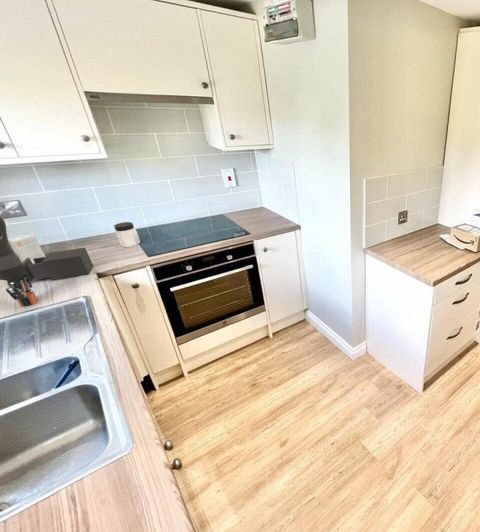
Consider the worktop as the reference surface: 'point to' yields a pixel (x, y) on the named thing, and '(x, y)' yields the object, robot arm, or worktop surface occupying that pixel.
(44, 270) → the drawer
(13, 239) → the small box
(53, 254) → the cabinet
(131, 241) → the jar
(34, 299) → the block
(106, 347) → the worktop surface
